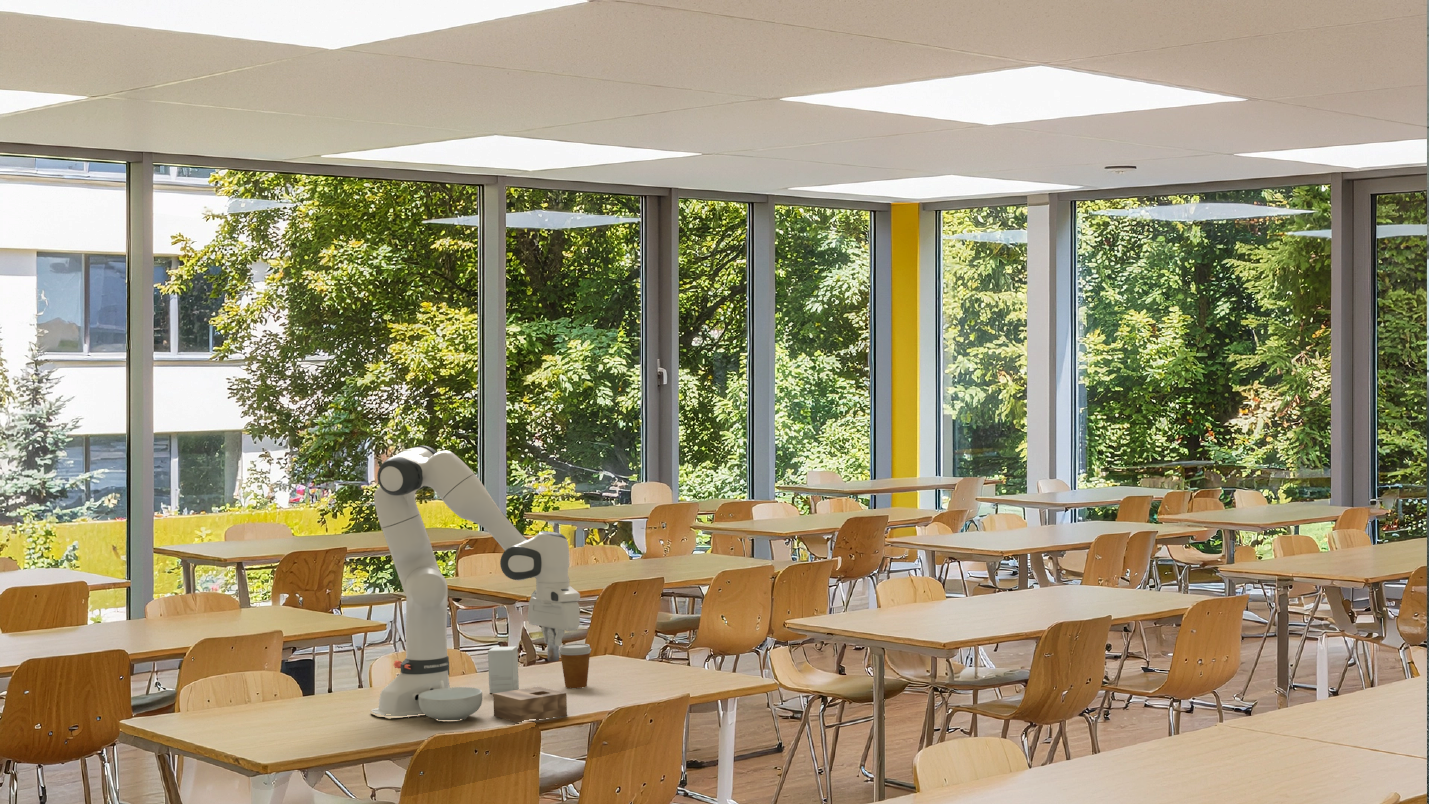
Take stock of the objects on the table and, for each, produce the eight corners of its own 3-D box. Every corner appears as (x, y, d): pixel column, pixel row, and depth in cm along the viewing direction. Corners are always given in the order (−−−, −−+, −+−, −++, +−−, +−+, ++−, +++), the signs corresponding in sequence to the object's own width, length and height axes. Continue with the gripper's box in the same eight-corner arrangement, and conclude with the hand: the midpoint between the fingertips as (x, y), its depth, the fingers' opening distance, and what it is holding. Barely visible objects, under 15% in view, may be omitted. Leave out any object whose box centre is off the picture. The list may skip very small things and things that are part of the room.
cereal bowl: (414, 716, 396) (413, 690, 396) (475, 710, 402) (475, 684, 402) (424, 728, 380) (424, 700, 380) (489, 721, 386) (488, 694, 386)
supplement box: (519, 689, 434) (518, 645, 434) (513, 693, 427) (512, 649, 427) (494, 689, 435) (493, 646, 435) (488, 694, 427) (487, 650, 428)
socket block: (520, 723, 382) (520, 700, 383) (493, 716, 393) (493, 693, 394) (567, 715, 391) (566, 693, 391) (539, 708, 402) (538, 686, 402)
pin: (551, 661, 393) (551, 623, 393) (545, 660, 395) (545, 622, 395) (561, 660, 395) (561, 622, 395) (555, 659, 397) (554, 621, 397)
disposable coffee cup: (590, 689, 431) (589, 647, 431) (557, 690, 431) (556, 648, 431) (593, 683, 440) (592, 643, 440) (562, 684, 440) (560, 643, 440)
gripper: (522, 590, 401) (522, 641, 401) (563, 596, 386) (563, 649, 385) (541, 588, 405) (541, 639, 405) (583, 594, 390) (584, 647, 389)
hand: (552, 644), depth 395 cm, fingers closed on pin, 3 cm apart
